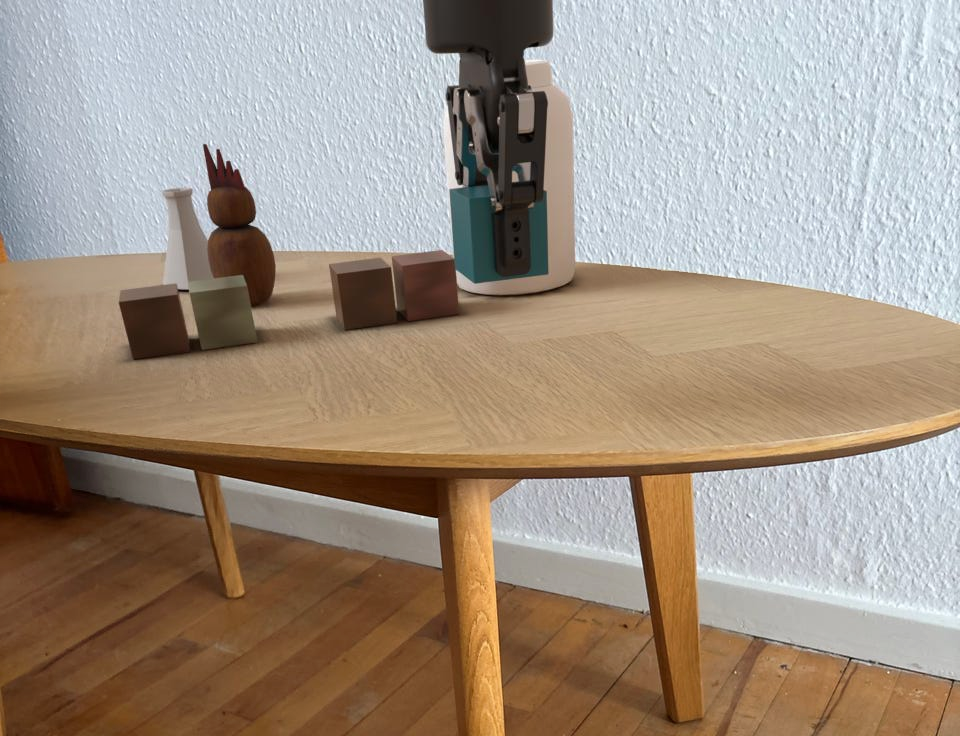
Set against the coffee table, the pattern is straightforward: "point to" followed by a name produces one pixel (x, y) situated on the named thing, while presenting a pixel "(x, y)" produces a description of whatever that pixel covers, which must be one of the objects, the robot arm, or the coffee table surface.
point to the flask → (184, 241)
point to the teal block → (491, 235)
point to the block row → (228, 313)
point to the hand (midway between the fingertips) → (500, 264)
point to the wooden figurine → (237, 232)
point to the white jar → (555, 184)
